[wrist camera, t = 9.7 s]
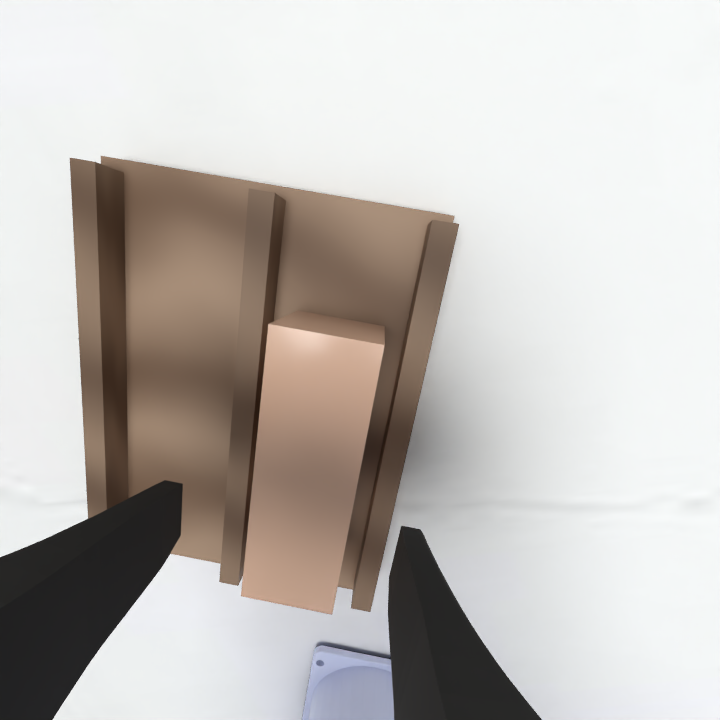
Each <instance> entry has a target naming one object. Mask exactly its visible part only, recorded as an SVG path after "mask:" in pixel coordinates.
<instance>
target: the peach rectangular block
mask: <svg viewBox="0 0 720 720" xmlns="http://www.w3.org/2000/svg"><path fill="white" fill-rule="evenodd" d="M384 346H385V326H380V325H375V324H369V323H364V322H358V321H353V320H347V319H342V318H336V317H331V316H325V315H320V314H314V313H309V312H303V311H298V310H297V311H295V312H293V313H291V314H289V315H287V316H284V317H282V318H280V319H278V320H276V321H274V322H272V323H269V324H268V333H267V343H266V353H265V363H264V373H263V383H262V393H261V403H260V413H259V423H258V433H257V442H256V452H255V462H254V472H253V482H252V492H251V502H250V512H249V522H248V532H247V542H246V552H245V562H244V571H243V581H242V591H241V596H243V597H248V598H253V599H258V600H263V601H268V602H273V603H278V604H282V605H287V606H292V607H297V608H302V609H307V610H312V611H317V612H322V613H327V614H332V612H333V607H334V602H335V597H336V592H337V587H338V582H339V576H340V571H341V566H342V561H343V556H344V551H345V546H346V541H347V535H348V530H349V525H350V520H351V515H352V510H353V505H354V500H355V494H356V489H357V484H358V479H359V474H360V469H361V464H362V459H363V453H364V448H365V443H366V438H367V433H368V428H369V423H370V418H371V412H372V407H373V402H374V397H375V392H376V387H377V382H378V377H379V371H380V366H381V361H382V356H383V351H384Z"/></svg>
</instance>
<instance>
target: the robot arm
mask: <svg viewBox="0 0 720 720" xmlns="http://www.w3.org/2000/svg"><path fill="white" fill-rule="evenodd" d="M182 492H183V484H182V483H177V482H172V481H167V480H164V481H162V482H160V483H158V484H155V485H153V486H151V487H150V488H148V489H146V490H144V491H142V492H140V493H138V494H136V495H134V496H132V497H130V498H128V499H126V500H124V501H123V502H121V503H119V504H117V505H115V506H113V507H111V508H109V509H107V510H105V511H103V512H101V513H99V514H97V515H95V516H93V517H91V518H89V519H87V520H85V521H83V522H80V523H78V524H76V525H74V526H72V527H70V528H68V529H66V530H63V531H61V532H59V533H57V534H55V535H53V536H51V537H48V538H46V539H44V540H42V541H39V542H37V543H35V544H32V545H30V546H28V547H25V548H23V549H20V550H18V551H15V552H13V553H10V554H8V555H5V556H3V557H0V720H52V719H53V718H54V716H55V715H56V713H57V712H58V710H59V708H60V707H61V705H62V704H63V702H64V701H65V699H66V698H67V696H68V695H69V693H70V692H71V690H72V689H73V687H74V685H75V684H76V682H77V681H78V679H79V678H80V676H81V675H82V673H83V672H84V670H85V669H86V667H87V666H88V664H89V663H90V661H91V660H92V659H93V657H94V656H95V654H96V653H97V652H98V650H99V649H100V647H101V646H102V645H103V643H104V642H105V641H106V639H107V638H108V637H109V635H110V634H111V633H112V632H113V630H114V629H115V628H116V626H117V625H118V624H119V623H120V621H121V620H122V619H123V617H124V616H125V615H126V613H127V612H128V611H129V610H130V608H131V607H132V606H133V604H134V603H135V602H136V600H137V599H138V598H139V597H140V595H141V594H142V593H143V591H144V590H145V589H146V587H147V586H148V585H149V583H150V582H151V581H152V579H153V578H154V577H155V576H156V574H157V573H158V571H159V570H160V569H161V567H162V566H163V564H164V563H165V561H166V559H167V558H168V556H169V555H170V553H171V551H172V550H173V548H174V546H175V545H176V543H177V541H178V539H179V538H180V536H181V519H182ZM388 622H389V638H390V654H391V659H386V658H381V657H376V656H371V655H367V654H362V653H357V652H352V651H347V650H342V649H337V648H332V647H327V646H317V647H316V648H315V650H314V655H313V661H312V666H311V672H310V677H309V683H308V688H307V694H306V699H305V705H304V711H303V716H302V720H542V719H541V718H540V717H539V716H538V715H537V713H536V712H535V711H534V710H533V708H532V707H531V706H530V705H529V703H528V702H527V701H526V700H525V698H524V697H523V696H522V695H521V694H520V692H519V691H518V690H517V689H516V687H515V686H514V685H513V684H512V682H511V681H510V680H509V678H508V677H507V676H506V674H505V673H504V672H503V670H502V669H501V668H500V666H499V665H498V663H497V662H496V661H495V659H494V658H493V656H492V655H491V653H490V652H489V651H488V649H487V648H486V646H485V645H484V643H483V642H482V640H481V639H480V637H479V636H478V634H477V633H476V631H475V630H474V628H473V626H472V625H471V623H470V622H469V620H468V618H467V617H466V615H465V613H464V612H463V610H462V608H461V607H460V605H459V603H458V602H457V600H456V598H455V596H454V595H453V593H452V591H451V589H450V587H449V585H448V584H447V582H446V580H445V578H444V576H443V574H442V572H441V570H440V568H439V567H438V564H437V562H436V560H435V558H434V556H433V554H432V552H431V550H430V548H429V546H428V544H427V541H426V539H425V537H424V535H423V533H422V531H421V530H420V529H415V528H410V527H405V526H401V530H400V534H399V538H398V542H397V546H396V551H395V555H394V559H393V563H392V567H391V571H390V576H389V596H388Z"/></svg>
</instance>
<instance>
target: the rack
mask: <svg viewBox="0 0 720 720" xmlns="http://www.w3.org/2000/svg"><path fill="white" fill-rule="evenodd" d="M70 171H71V191H72V210H73V230H74V250H75V269H76V289H77V308H78V328H79V348H80V367H81V387H82V406H83V426H84V446H85V465H86V485H87V504H88V519H89V518H91V517H93V516H95V515H97V514H99V513H101V512H103V511H105V510H107V509H109V508H111V507H113V506H115V505H117V504H119V503H121V502H123V501H124V500H126V499H128V498H130V497H132V496H134V495H136V494H138V493H140V492H142V491H144V490H146V489H148V488H150V487H151V486H153V485H155V484H158V483H160V482H162V481H164V480H167V481H172V482H177V483H182V484H183V492H182V519H181V536H180V538H179V539H178V541H177V543H176V545H175V546H174V548H173V550H172V551H171V553H170V554H175V555H180V556H185V557H190V558H196V559H201V560H206V561H211V562H216V563H221V567H220V581H219V582H222V583H227V584H232V585H237V586H238V585H239V583H240V580H241V578H242V576H243V571H244V562H245V552H246V542H247V532H248V522H249V512H250V502H251V492H252V482H253V472H254V462H255V452H256V442H257V433H258V423H259V413H260V403H261V393H262V383H263V373H264V363H265V353H266V343H267V333H268V324H269V323H272V322H274V321H276V320H278V319H280V318H282V317H284V316H287V315H289V314H291V313H293V312H295V311H297V310H298V311H303V312H309V313H314V314H320V315H325V316H331V317H336V318H342V319H347V320H353V321H358V322H364V323H369V324H375V325H380V326H385V346H384V351H383V356H382V361H381V366H380V371H379V377H378V382H377V387H376V392H375V397H374V402H373V407H372V412H371V418H370V423H369V428H368V433H367V438H366V443H365V448H364V453H363V459H362V464H361V469H360V474H359V479H358V484H357V489H356V494H355V500H354V505H353V510H352V515H351V520H350V525H349V530H348V535H347V541H346V546H345V551H344V556H343V561H342V566H341V571H340V576H339V582H338V587H342V588H347V589H352V590H353V595H352V605H351V608H353V609H358V610H363V611H368V612H370V611H371V606H372V602H373V597H374V593H375V589H376V584H377V580H378V576H379V571H380V567H381V563H382V558H383V554H384V550H385V545H386V541H387V536H388V532H389V528H390V523H391V519H392V515H393V510H394V506H395V502H396V497H397V493H398V488H399V484H400V480H401V475H402V471H403V467H404V462H405V458H406V454H407V449H408V445H409V441H410V436H411V432H412V427H413V423H414V419H415V414H416V410H417V406H418V401H419V397H420V393H421V388H422V384H423V379H424V375H425V371H426V366H427V362H428V358H429V353H430V349H431V345H432V340H433V336H434V332H435V327H436V323H437V318H438V314H439V310H440V305H441V301H442V297H443V292H444V288H445V284H446V279H447V275H448V271H449V266H450V262H451V257H452V253H453V249H454V244H455V240H456V236H457V231H458V227H459V224H456V223H453V220H454V216H452V215H446V214H440V213H434V212H428V211H422V210H416V209H411V208H405V207H399V206H393V205H387V204H381V203H375V202H369V201H363V200H358V199H352V198H346V197H340V196H334V195H328V194H322V193H316V192H311V191H305V190H299V189H293V188H287V187H281V186H275V185H269V184H263V183H258V182H252V181H246V180H240V179H234V178H228V177H222V176H216V175H210V174H205V173H199V172H193V171H187V170H181V169H175V168H169V167H163V166H157V165H152V164H146V163H140V162H134V161H128V160H122V159H116V158H110V157H105V156H101V164H99V163H96V162H92V161H86V160H80V159H74V158H70Z"/></svg>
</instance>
